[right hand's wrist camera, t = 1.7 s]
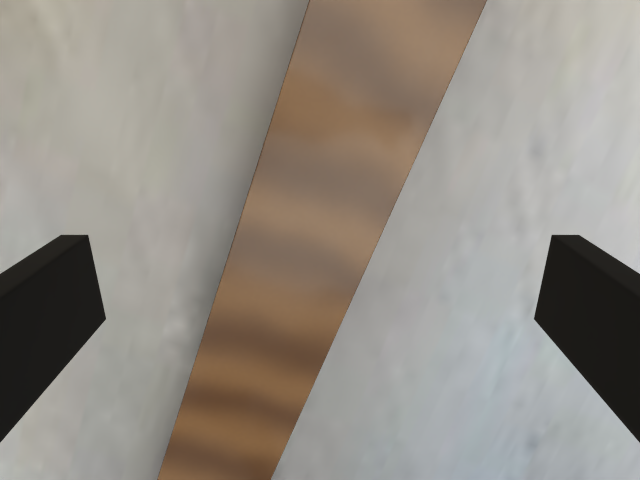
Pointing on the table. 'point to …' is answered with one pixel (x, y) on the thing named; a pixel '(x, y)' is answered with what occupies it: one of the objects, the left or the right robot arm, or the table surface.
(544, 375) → the table surface
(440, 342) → the table surface
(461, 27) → the wide beam
